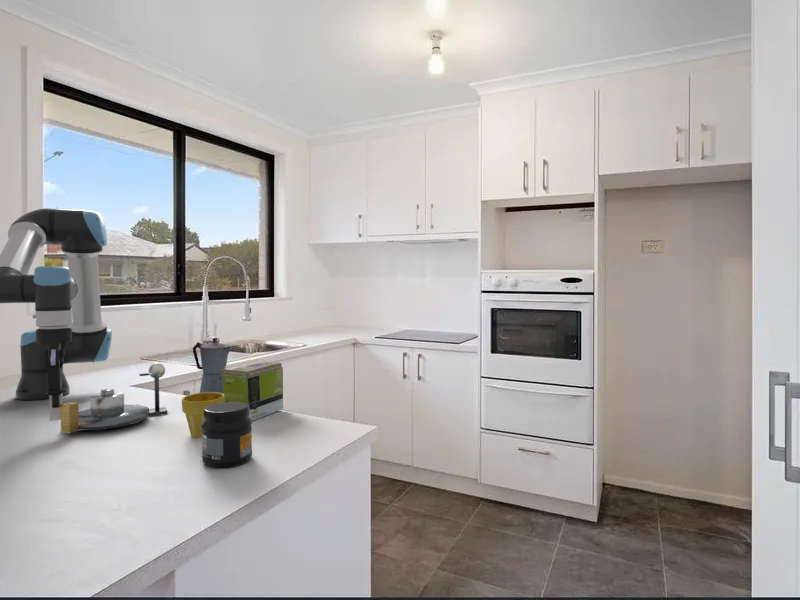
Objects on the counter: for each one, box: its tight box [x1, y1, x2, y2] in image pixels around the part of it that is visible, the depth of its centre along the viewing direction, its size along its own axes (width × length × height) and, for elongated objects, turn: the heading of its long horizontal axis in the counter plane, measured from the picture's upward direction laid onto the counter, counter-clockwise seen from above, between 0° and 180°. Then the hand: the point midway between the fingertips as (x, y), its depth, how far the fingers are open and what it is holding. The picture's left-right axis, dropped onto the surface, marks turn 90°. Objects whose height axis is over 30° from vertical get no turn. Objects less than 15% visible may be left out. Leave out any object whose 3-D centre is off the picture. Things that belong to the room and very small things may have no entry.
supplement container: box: [201, 402, 253, 469], centre depth 108 cm, size 10×10×12 cm
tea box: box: [222, 360, 284, 421], centre depth 145 cm, size 15×10×15 cm, turn 154°
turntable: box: [60, 401, 150, 434], centre depth 134 cm, size 20×22×7 cm
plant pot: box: [181, 392, 225, 438], centre depth 127 cm, size 10×10×10 cm
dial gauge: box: [138, 362, 169, 417], centre depth 146 cm, size 5×7×15 cm
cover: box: [90, 388, 125, 418], centre depth 136 cm, size 8×8×7 cm
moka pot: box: [192, 337, 232, 393], centre depth 170 cm, size 10×15×20 cm, turn 78°
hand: (56, 419), depth 125 cm, fingers closed
